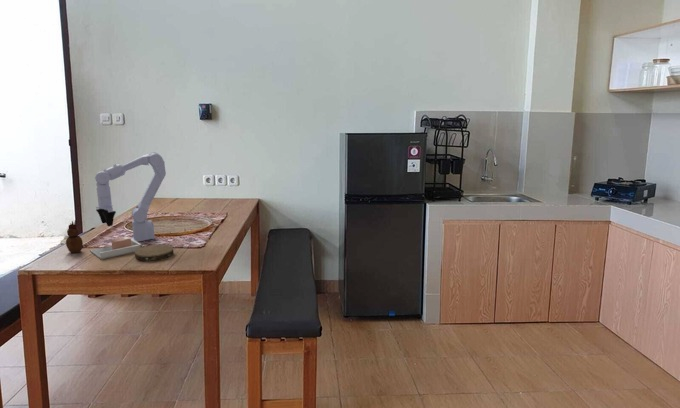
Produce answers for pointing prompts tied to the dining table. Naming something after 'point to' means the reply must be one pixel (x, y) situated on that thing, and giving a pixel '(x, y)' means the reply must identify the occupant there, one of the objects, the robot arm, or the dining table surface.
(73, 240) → the wooden figurine
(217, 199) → the dining table surface
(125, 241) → the terracotta block
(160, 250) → the wooden log slice
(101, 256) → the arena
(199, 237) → the dining table surface
